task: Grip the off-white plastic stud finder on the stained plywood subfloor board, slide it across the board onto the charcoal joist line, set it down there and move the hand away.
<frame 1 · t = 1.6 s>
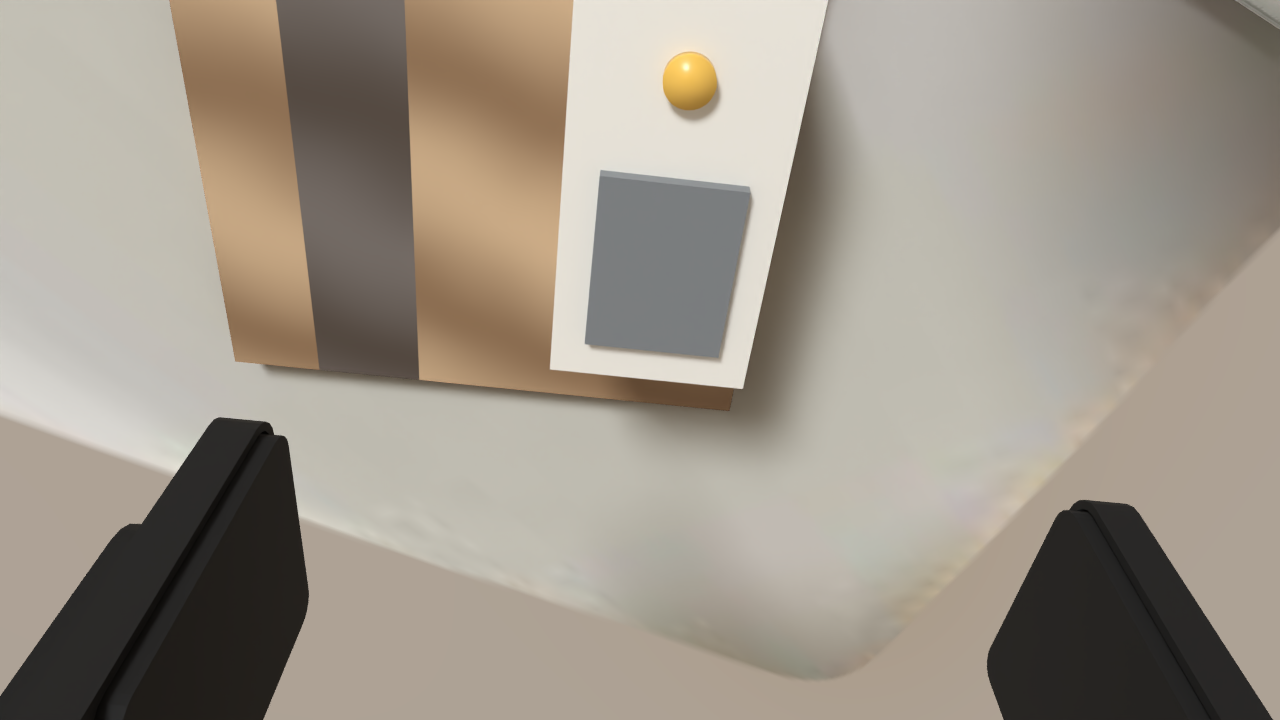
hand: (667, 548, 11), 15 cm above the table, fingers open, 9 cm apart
stud finder: (670, 116, 22), point 1 cm above the table, touching subfloor board
subfloor board: (495, 82, 23), on the table
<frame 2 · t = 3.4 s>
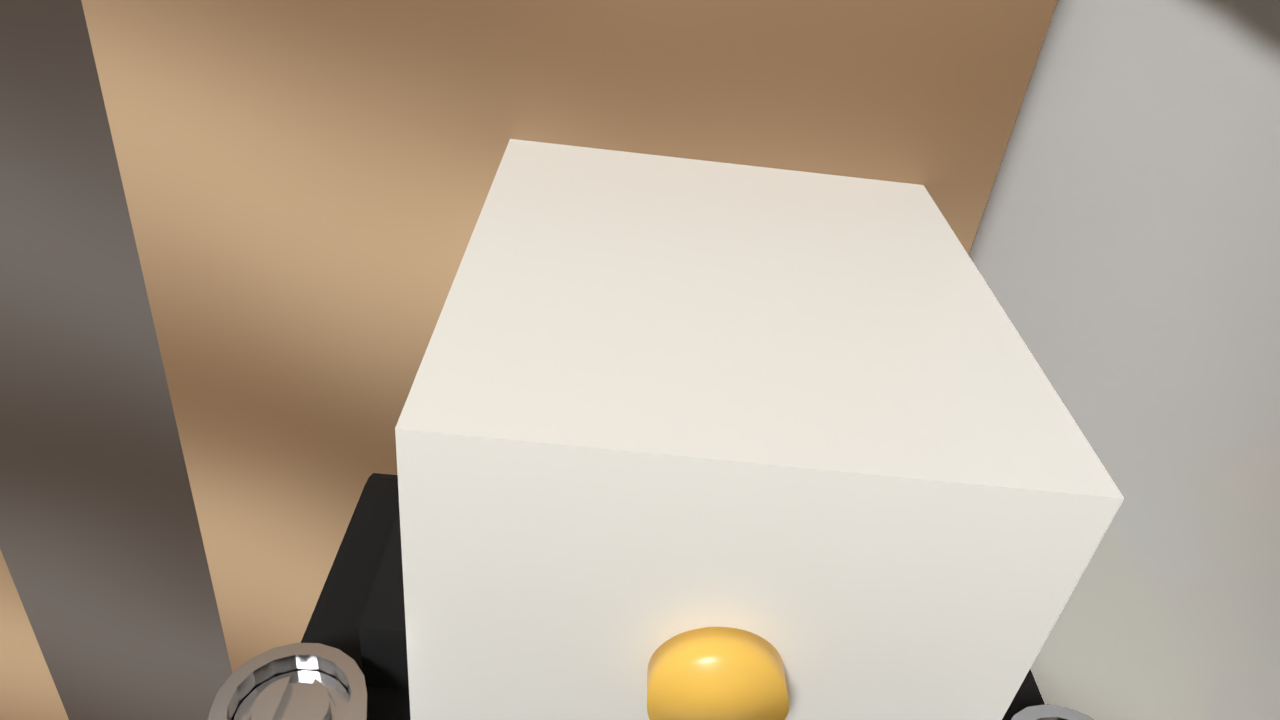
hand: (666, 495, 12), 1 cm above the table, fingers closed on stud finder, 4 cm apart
stud finder: (666, 477, 12), point 1 cm above the table, touching gripper, subfloor board
subfloor board: (352, 401, 13), on the table
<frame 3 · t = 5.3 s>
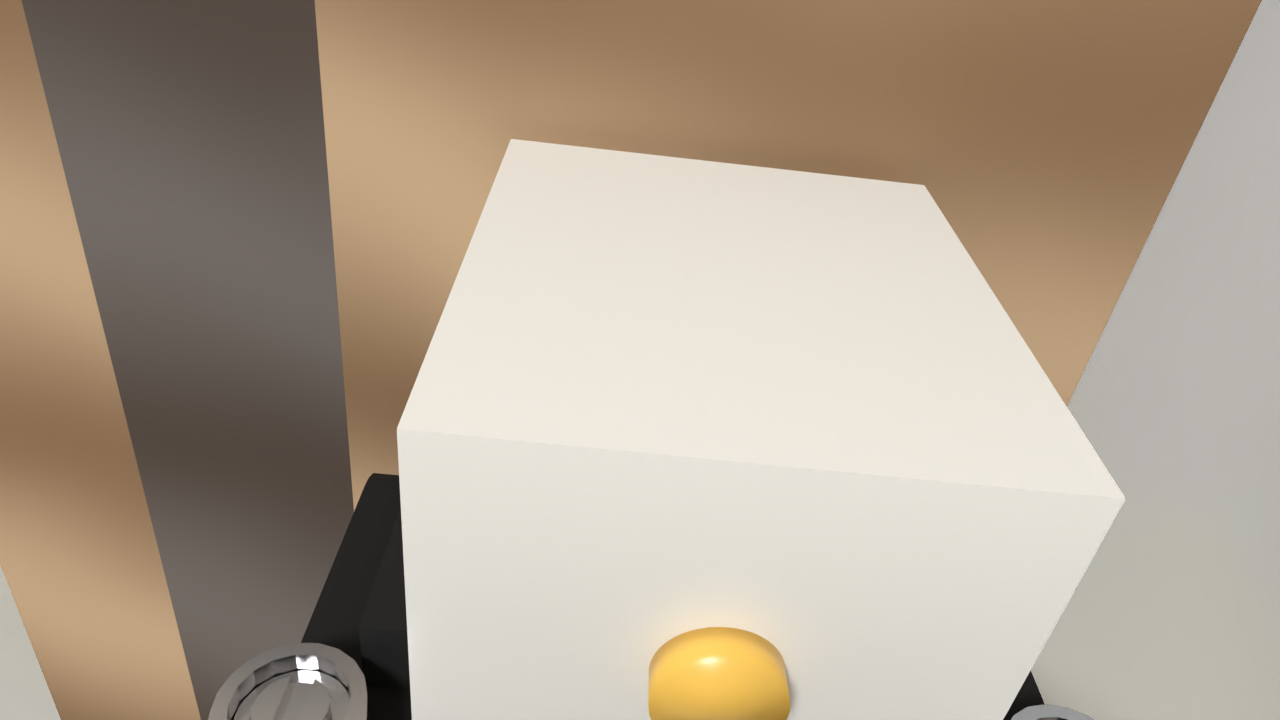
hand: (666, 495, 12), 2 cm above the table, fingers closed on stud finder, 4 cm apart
stud finder: (667, 477, 12), point 1 cm above the table, touching gripper
subfloor board: (504, 402, 13), on the table
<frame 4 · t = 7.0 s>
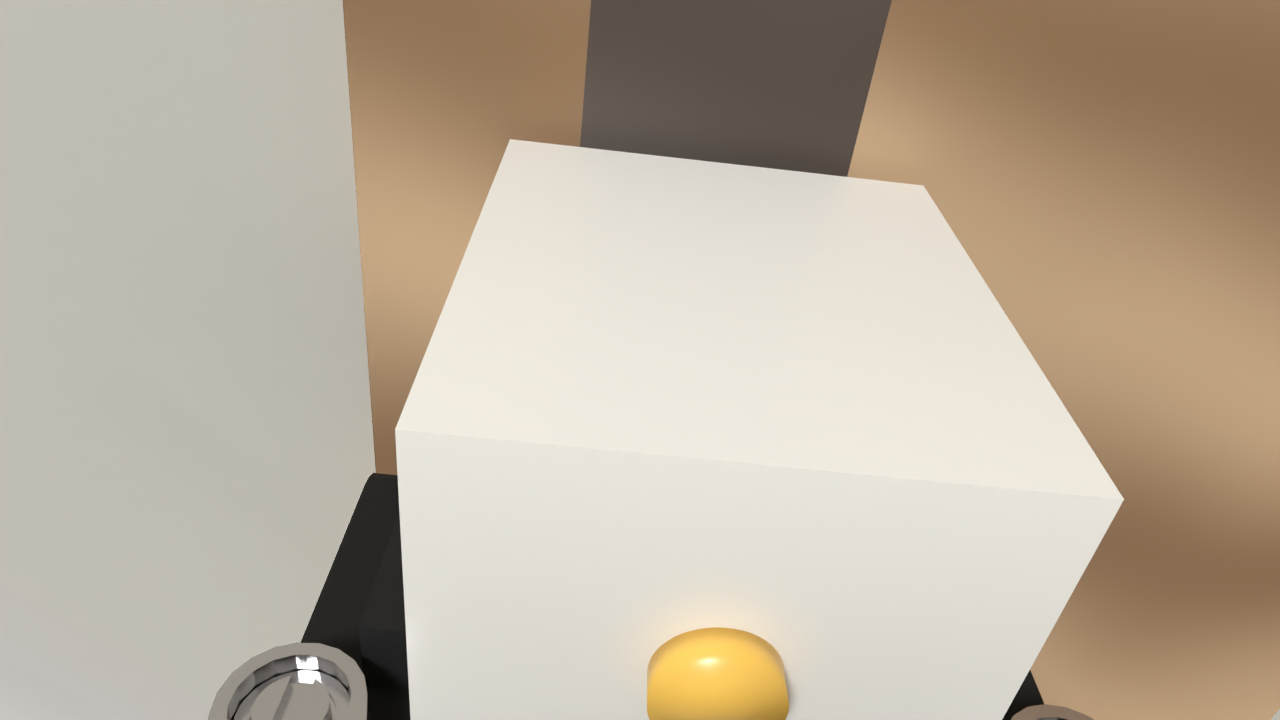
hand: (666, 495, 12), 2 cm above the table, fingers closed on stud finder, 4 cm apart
stud finder: (666, 477, 12), point 1 cm above the table, touching gripper
subfloor board: (896, 444, 13), on the table
when the fingers open (1 cm above the table, at t = 7.5 s): stud finder stays where it is, resting on subfloor board.
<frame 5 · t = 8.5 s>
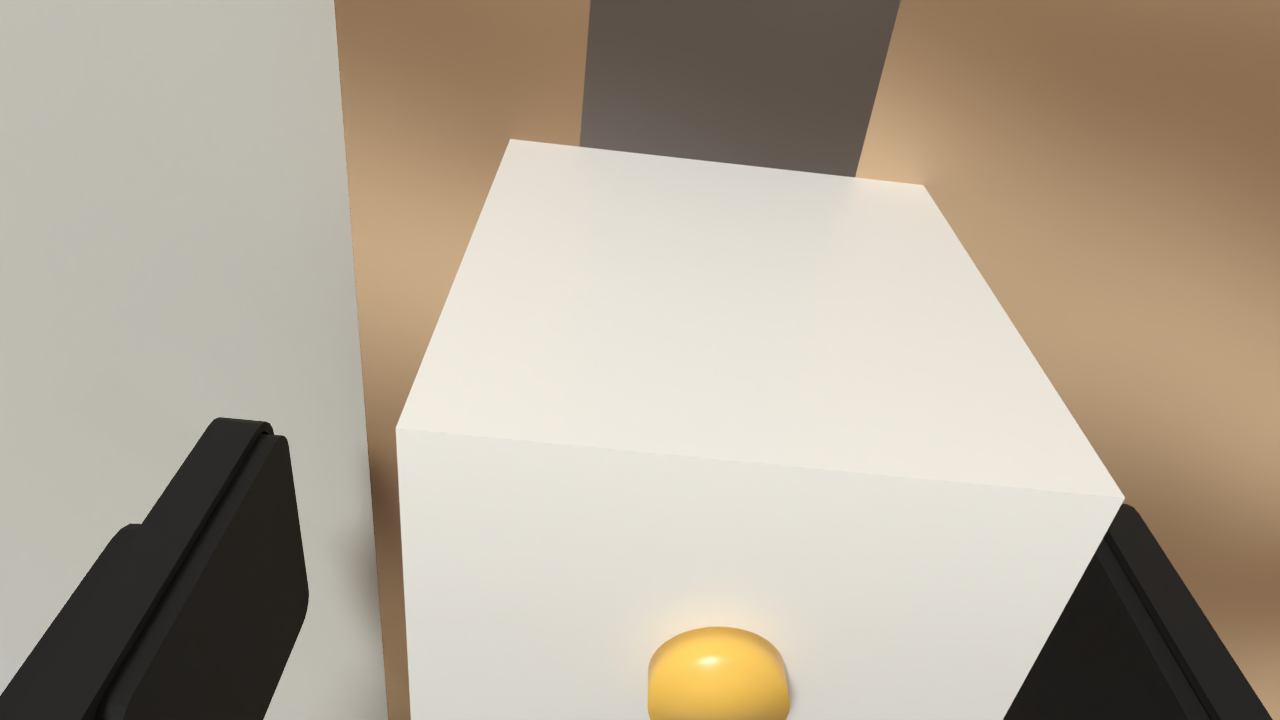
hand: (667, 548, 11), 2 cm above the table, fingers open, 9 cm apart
stud finder: (666, 477, 12), point 1 cm above the table, touching subfloor board
subfloor board: (901, 455, 13), on the table
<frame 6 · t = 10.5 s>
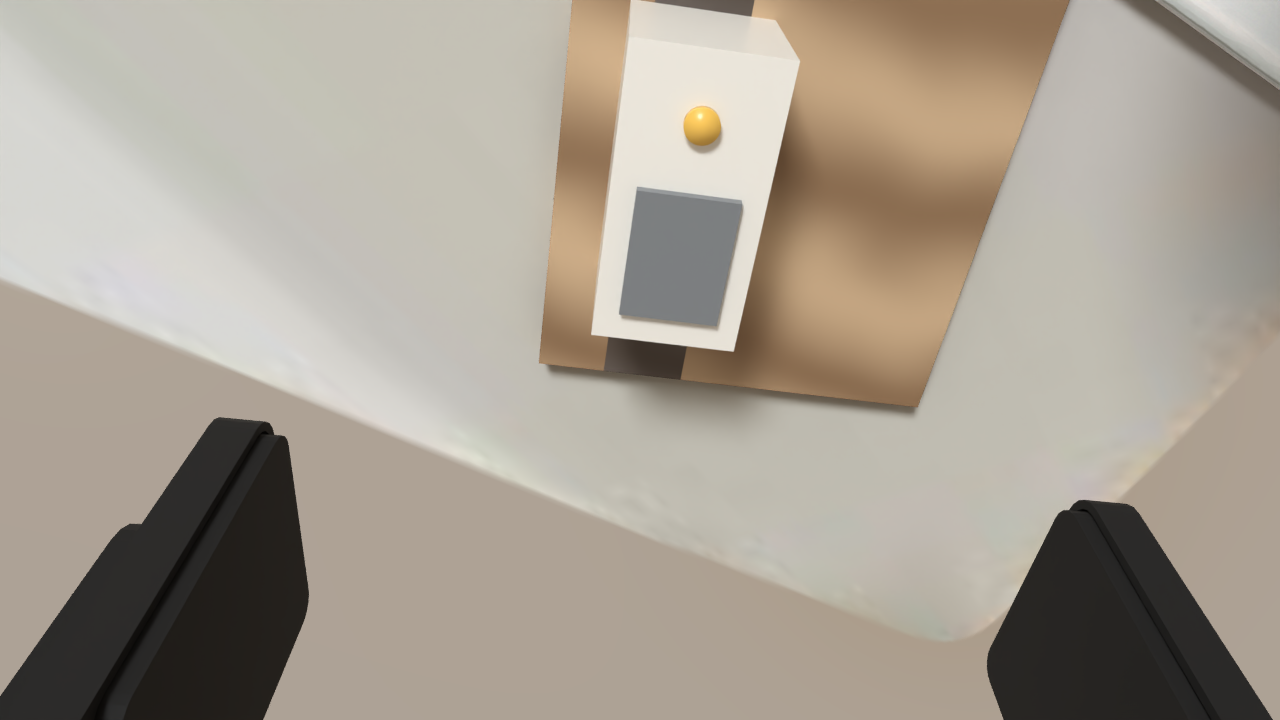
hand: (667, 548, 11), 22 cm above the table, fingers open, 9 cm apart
stud finder: (680, 150, 30), point 1 cm above the table, touching subfloor board
subfloor board: (778, 155, 31), on the table
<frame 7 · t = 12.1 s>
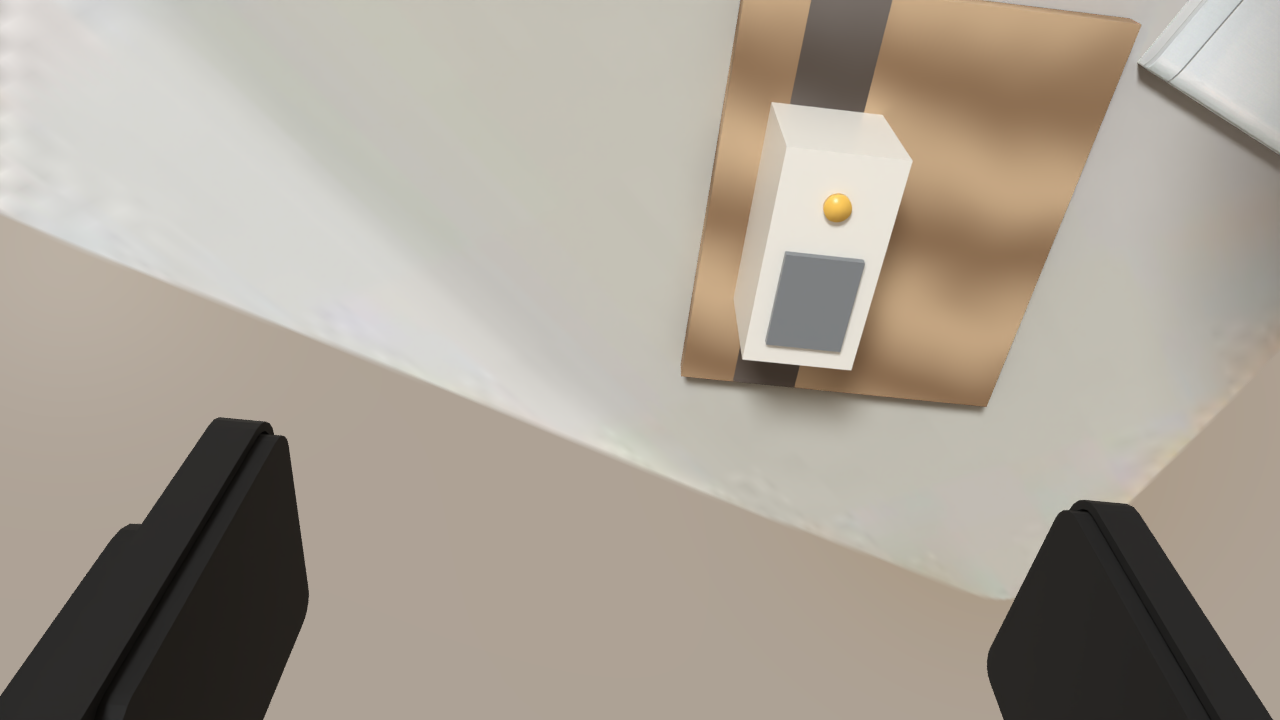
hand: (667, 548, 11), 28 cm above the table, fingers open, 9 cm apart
stud finder: (803, 212, 38), point 1 cm above the table, touching subfloor board
subfloor board: (878, 211, 39), on the table
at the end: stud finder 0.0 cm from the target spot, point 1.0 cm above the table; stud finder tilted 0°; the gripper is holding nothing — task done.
